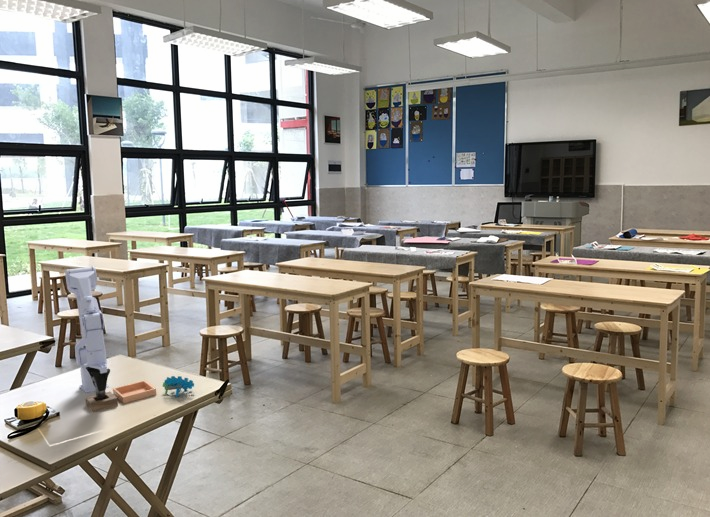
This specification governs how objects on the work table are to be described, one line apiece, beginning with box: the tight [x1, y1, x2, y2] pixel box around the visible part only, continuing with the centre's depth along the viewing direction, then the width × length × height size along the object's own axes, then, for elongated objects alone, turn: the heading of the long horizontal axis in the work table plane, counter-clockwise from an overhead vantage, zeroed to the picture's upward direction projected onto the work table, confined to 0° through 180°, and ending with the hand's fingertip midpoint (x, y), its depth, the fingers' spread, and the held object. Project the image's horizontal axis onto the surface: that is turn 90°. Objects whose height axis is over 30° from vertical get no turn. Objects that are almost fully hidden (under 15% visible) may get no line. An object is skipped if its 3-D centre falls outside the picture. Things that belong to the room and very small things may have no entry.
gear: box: [162, 375, 195, 398], centre depth 209 cm, size 11×6×10 cm
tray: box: [112, 380, 157, 404], centre depth 210 cm, size 11×11×2 cm
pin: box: [92, 377, 107, 401], centre depth 201 cm, size 4×4×8 cm
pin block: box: [84, 391, 119, 413], centre depth 202 cm, size 8×8×3 cm
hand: (100, 388), depth 201 cm, fingers closed on pin, 4 cm apart
